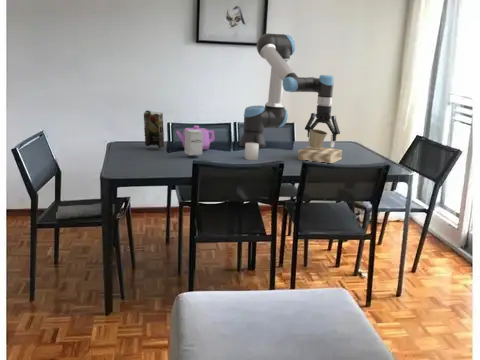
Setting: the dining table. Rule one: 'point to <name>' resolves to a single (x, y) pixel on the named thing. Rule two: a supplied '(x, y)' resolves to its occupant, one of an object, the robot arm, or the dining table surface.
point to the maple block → (320, 154)
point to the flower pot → (317, 138)
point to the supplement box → (193, 142)
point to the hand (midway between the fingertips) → (320, 145)
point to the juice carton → (153, 128)
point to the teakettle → (205, 136)
